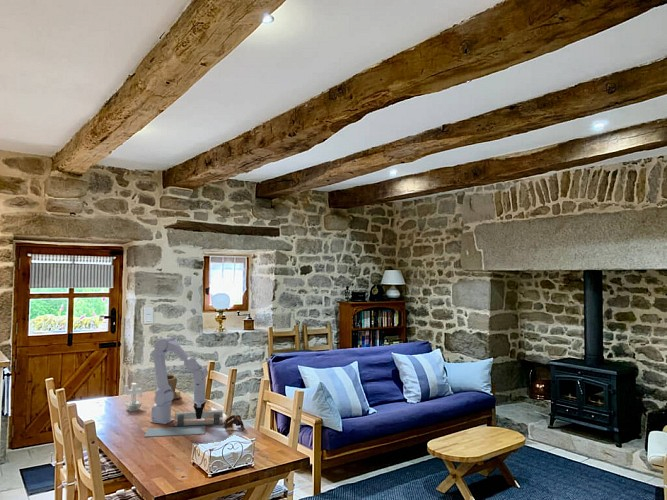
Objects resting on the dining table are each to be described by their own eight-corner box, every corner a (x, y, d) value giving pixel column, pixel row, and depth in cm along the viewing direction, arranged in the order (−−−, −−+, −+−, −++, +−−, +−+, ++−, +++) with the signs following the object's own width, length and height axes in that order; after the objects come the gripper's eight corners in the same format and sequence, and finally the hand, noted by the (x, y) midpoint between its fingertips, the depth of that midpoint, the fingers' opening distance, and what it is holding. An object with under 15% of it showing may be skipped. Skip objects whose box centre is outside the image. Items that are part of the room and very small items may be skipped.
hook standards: (174, 427, 252) (174, 416, 252) (175, 423, 259) (175, 412, 259) (222, 425, 258) (222, 414, 258) (222, 421, 264) (222, 411, 265)
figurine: (143, 409, 282) (144, 383, 283) (126, 412, 276) (127, 385, 277) (139, 407, 288) (140, 381, 289) (122, 409, 282) (123, 383, 283)
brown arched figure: (243, 434, 246) (235, 420, 245) (227, 441, 248) (219, 427, 247) (249, 420, 258) (241, 407, 257) (233, 427, 260) (225, 414, 258)
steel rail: (174, 419, 254) (174, 413, 254) (175, 417, 257) (175, 412, 257) (222, 417, 260) (222, 411, 260) (222, 415, 263) (222, 410, 263)
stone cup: (159, 403, 297) (160, 378, 297) (154, 399, 306) (155, 374, 307) (184, 400, 305) (185, 375, 306) (179, 396, 315) (179, 372, 315)
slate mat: (144, 437, 237) (144, 436, 237) (147, 429, 249) (147, 428, 249) (204, 434, 243) (204, 433, 243) (205, 426, 255) (205, 425, 255)
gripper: (207, 394, 253) (206, 421, 252) (208, 388, 267) (207, 413, 266) (193, 395, 251) (192, 422, 251) (194, 388, 265) (193, 414, 265)
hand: (198, 417), depth 258 cm, fingers closed on steel rail, 3 cm apart
